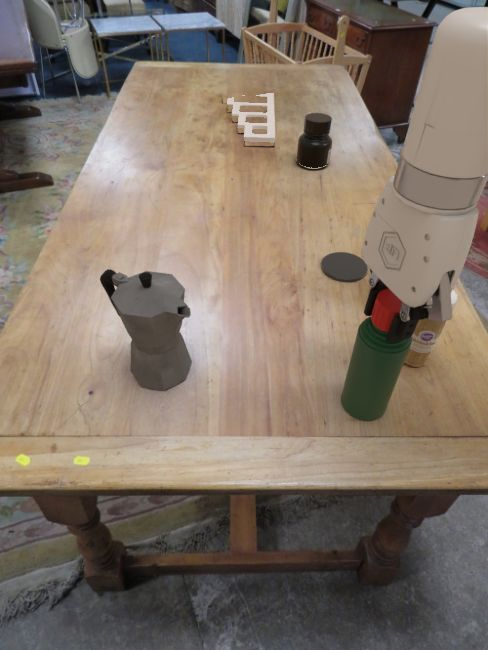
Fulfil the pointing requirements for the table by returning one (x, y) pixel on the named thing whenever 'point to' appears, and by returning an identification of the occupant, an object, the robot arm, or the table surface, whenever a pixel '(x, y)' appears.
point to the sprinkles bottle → (425, 338)
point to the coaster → (344, 267)
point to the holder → (250, 126)
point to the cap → (385, 309)
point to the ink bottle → (315, 141)
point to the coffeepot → (152, 325)
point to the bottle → (372, 372)
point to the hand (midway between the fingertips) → (386, 323)
